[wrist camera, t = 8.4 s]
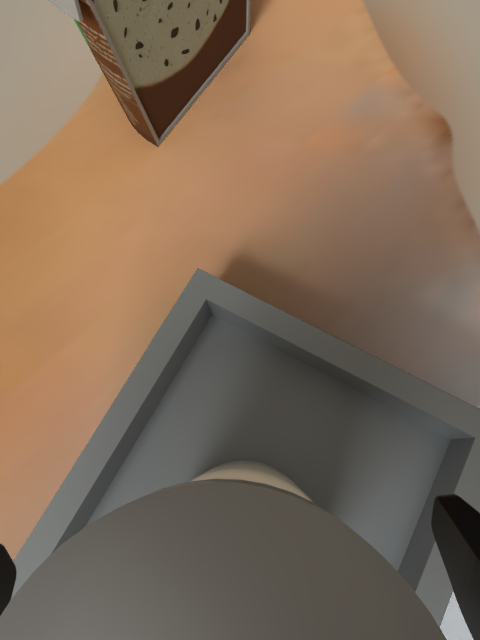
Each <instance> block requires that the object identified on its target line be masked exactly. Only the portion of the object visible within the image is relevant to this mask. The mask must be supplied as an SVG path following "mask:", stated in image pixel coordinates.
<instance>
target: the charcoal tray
mask: <svg viewBox="0 0 480 640" xmlns="http://www.w3.org/2000/svg"><path fill="white" fill-rule="evenodd" d="M238 460H251V461H257V462H261V463H264V464H268V465H270V466H272V467H274V468H276V469H278V470H279V471H281V472H283V473H284V474H285V475H287V476H288V477H289V478H290V479H291V480H292V481H293V482H294V483H295V484H296V485H297V486H298V487H299V488H300V489H301V490H302V491H303V492H304V493H305V494H306V495H307V496H308V497H309V498H310V499H311V500H312V502H314V503H316V504H317V505H319V506H321V507H322V508H324V509H325V510H327V511H328V512H330V513H331V514H333V515H335V516H336V517H338V518H339V519H341V520H342V521H343V522H344V523H345V524H347V525H348V526H349V527H350V528H351V529H353V530H354V531H355V532H356V533H357V534H359V535H360V536H361V537H362V538H363V539H364V540H365V541H367V542H368V543H369V544H370V545H371V546H372V547H373V548H374V549H376V550H377V551H378V552H379V553H380V554H381V555H382V556H383V557H384V558H385V559H386V560H387V561H388V562H389V563H390V564H391V565H392V566H393V567H394V568H395V569H396V571H397V572H398V573H399V574H400V575H401V576H402V577H403V578H404V579H405V580H406V581H407V582H408V583H409V585H410V586H411V587H412V589H413V590H414V591H415V593H416V594H417V595H418V597H419V598H420V599H421V601H422V602H423V603H424V605H425V606H426V607H427V609H428V610H429V611H430V613H431V614H432V616H433V618H434V619H435V621H436V623H437V624H438V626H439V627H440V624H441V622H442V619H443V616H444V614H445V611H446V608H447V605H448V603H449V600H450V597H451V595H452V592H453V588H452V585H451V582H450V580H449V577H448V574H447V571H446V568H445V566H444V563H443V560H442V557H441V555H440V552H439V549H438V546H437V543H436V541H435V538H434V535H433V532H432V527H431V518H432V511H433V504H434V499H435V497H436V496H438V495H446V494H456V495H458V496H460V497H461V498H462V499H464V500H465V501H466V502H467V503H468V504H470V505H471V506H472V507H473V508H475V509H476V510H477V511H478V512H480V409H478V408H476V407H474V406H472V405H470V404H468V403H466V402H464V401H462V400H460V399H458V398H456V397H454V396H452V395H450V394H448V393H446V392H444V391H442V390H440V389H438V388H436V387H434V386H432V385H430V384H428V383H426V382H424V381H422V380H420V379H418V378H416V377H414V376H412V375H410V374H408V373H406V372H404V371H402V370H400V369H398V368H396V367H394V366H392V365H390V364H388V363H386V362H384V361H382V360H380V359H378V358H376V357H374V356H372V355H370V354H368V353H366V352H364V351H362V350H360V349H358V348H356V347H354V346H352V345H350V344H348V343H346V342H344V341H342V340H340V339H338V338H336V337H334V336H332V335H330V334H328V333H326V332H324V331H322V330H320V329H318V328H316V327H314V326H312V325H310V324H308V323H306V322H304V321H302V320H300V319H298V318H296V317H294V316H292V315H290V314H288V313H286V312H284V311H282V310H280V309H278V308H276V307H274V306H272V305H270V304H268V303H266V302H264V301H262V300H260V299H258V298H256V297H254V296H252V295H250V294H248V293H246V292H244V291H242V290H240V289H238V288H236V287H234V286H232V285H231V284H229V283H227V282H225V281H223V280H221V279H219V278H217V277H215V276H213V275H211V274H209V273H207V272H205V271H203V270H201V269H199V268H197V270H196V272H195V273H194V275H193V276H192V278H191V280H190V281H189V283H188V284H187V286H186V288H185V289H184V291H183V292H182V294H181V296H180V297H179V299H178V300H177V302H176V303H175V305H174V307H173V308H172V310H171V311H170V313H169V315H168V316H167V318H166V319H165V321H164V323H163V324H162V326H161V327H160V329H159V331H158V332H157V334H156V335H155V337H154V338H153V340H152V342H151V343H150V345H149V346H148V348H147V350H146V351H145V353H144V354H143V356H142V358H141V359H140V361H139V362H138V364H137V366H136V367H135V369H134V370H133V372H132V374H131V375H130V377H129V378H128V380H127V381H126V383H125V385H124V386H123V388H122V389H121V391H120V393H119V394H118V396H117V397H116V399H115V401H114V402H113V404H112V405H111V407H110V409H109V410H108V412H107V413H106V415H105V416H104V418H103V420H102V421H101V423H100V424H99V426H98V428H97V429H96V431H95V432H94V434H93V436H92V437H91V439H90V440H89V442H88V444H87V445H86V447H85V448H84V450H83V452H82V453H81V455H80V456H79V458H78V459H77V461H76V463H75V464H74V466H73V467H72V469H71V471H70V472H69V474H68V475H67V477H66V479H65V480H64V482H63V483H62V485H61V487H60V488H59V490H58V491H57V493H56V494H55V496H54V498H53V499H52V501H51V502H50V504H49V506H48V507H47V509H46V510H45V512H44V514H43V515H42V517H41V518H40V520H39V522H38V523H37V525H36V526H35V528H34V530H33V531H32V533H31V534H30V536H29V537H28V539H27V541H26V542H25V544H24V545H23V547H22V549H21V550H20V552H19V553H18V555H17V557H16V558H15V560H14V561H13V562H14V564H15V566H16V571H17V575H16V581H15V585H14V589H13V593H12V597H13V596H14V595H15V594H16V593H17V591H18V590H19V589H20V588H21V587H22V585H23V584H24V583H25V582H26V580H27V579H28V578H29V577H30V576H31V574H32V573H33V572H34V571H35V570H36V569H37V568H38V567H39V566H40V565H41V564H42V563H43V562H44V561H45V560H46V559H47V558H48V557H49V556H50V555H51V554H52V553H53V552H54V551H55V550H56V549H57V548H58V547H60V546H61V545H62V544H63V543H64V542H66V541H67V540H68V539H70V538H71V537H72V536H74V535H75V534H76V533H78V532H79V531H80V530H82V529H83V528H84V527H86V526H87V525H88V524H90V523H92V522H94V521H95V520H97V519H99V518H101V517H102V516H104V515H106V514H108V513H109V512H111V511H113V510H115V509H116V508H119V507H121V506H123V505H125V504H127V503H129V502H131V501H134V500H136V499H138V498H140V497H143V496H145V495H148V494H150V493H152V492H155V491H157V490H160V489H162V488H166V487H170V486H174V485H177V484H181V483H185V482H189V481H191V480H193V479H194V478H196V477H198V476H200V475H201V474H203V473H205V472H207V471H208V470H210V469H212V468H214V467H216V466H218V465H221V464H223V463H227V462H231V461H238ZM12 597H11V599H12Z"/></svg>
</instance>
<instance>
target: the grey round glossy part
mask: <svg viewBox="0 0 480 640" xmlns="http://www.w3.org/2000/svg"><path fill="white" fill-rule="evenodd" d="M0 640H446V638H445V636H444V635H443V633H442V631H441V630H440V628H439V626H438V624H437V623H436V621H435V619H434V618H433V616H432V614H431V613H430V611H429V610H428V609H427V607H426V606H425V605H424V603H423V602H422V601H421V599H420V598H419V597H418V595H417V594H416V593H415V591H414V590H413V589H412V587H411V586H410V585H409V583H408V582H407V581H406V580H405V579H404V578H403V577H402V576H401V575H400V574H399V573H398V572H397V571H396V569H395V568H394V567H393V566H392V565H391V564H390V563H389V562H388V561H387V560H386V559H385V558H384V557H383V556H382V555H381V554H380V553H379V552H378V551H377V550H376V549H374V548H373V547H372V546H371V545H370V544H369V543H368V542H367V541H365V540H364V539H363V538H362V537H361V536H360V535H359V534H357V533H356V532H355V531H354V530H353V529H351V528H350V527H349V526H348V525H347V524H345V523H344V522H343V521H342V520H341V519H339V518H338V517H336V516H335V515H333V514H331V513H330V512H328V511H327V510H325V509H324V508H322V507H321V506H319V505H317V504H316V503H314V502H312V500H311V499H310V498H309V497H308V496H307V495H306V494H305V493H304V492H303V491H302V490H301V489H300V488H299V487H298V486H297V485H296V484H295V483H294V482H293V481H292V480H291V479H290V478H289V477H288V476H287V475H285V474H284V473H283V472H281V471H279V470H278V469H276V468H274V467H272V466H270V465H268V464H264V463H261V462H257V461H251V460H238V461H231V462H227V463H223V464H221V465H218V466H216V467H214V468H212V469H210V470H208V471H207V472H205V473H203V474H201V475H200V476H198V477H196V478H194V479H193V480H191V481H189V482H185V483H181V484H177V485H174V486H170V487H166V488H162V489H160V490H157V491H155V492H152V493H150V494H148V495H145V496H143V497H140V498H138V499H136V500H134V501H131V502H129V503H127V504H125V505H123V506H121V507H119V508H116V509H115V510H113V511H111V512H109V513H108V514H106V515H104V516H102V517H101V518H99V519H97V520H95V521H94V522H92V523H90V524H88V525H87V526H86V527H84V528H83V529H82V530H80V531H79V532H78V533H76V534H75V535H74V536H72V537H71V538H70V539H68V540H67V541H66V542H64V543H63V544H62V545H61V546H60V547H58V548H57V549H56V550H55V551H54V552H53V553H52V554H51V555H50V556H49V557H48V558H47V559H46V560H45V561H44V562H43V563H42V564H41V565H40V566H39V567H38V568H37V569H36V570H35V571H34V572H33V573H32V574H31V576H30V577H29V578H28V579H27V580H26V582H25V583H24V584H23V585H22V587H21V588H20V589H19V590H18V591H17V593H16V594H15V595H14V596H13V597H12V599H11V600H10V602H9V604H8V605H7V607H6V608H5V610H4V611H3V613H2V614H1V616H0Z"/></svg>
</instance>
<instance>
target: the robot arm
mask: <svg viewBox="0 0 480 640" xmlns="http://www.w3.org/2000/svg"><path fill="white" fill-rule="evenodd" d="M431 527H432V532H433V535H434V538H435V541H436V543H437V546H438V549H439V552H440V555H441V557H442V560H443V563H444V566H445V568H446V571H447V574H448V577H449V580H450V582H451V585H452V588H453V591H454V593H455V596H456V599H457V602H458V604H459V607H460V610H461V612H462V615H463V617H464V619H465V622H466V624H467V626H468V628H469V630H470V633H471V635H472V637H473V639H474V640H480V512H478V511H477V510H476V509H475V508H473V507H472V506H471V505H470V504H468V503H467V502H466V501H465V500H464V499H462V498H461V497H460V496H458V495H456V494H446V495H438V496H436V497H435V499H434V504H433V511H432V518H431ZM16 575H17V571H16V566H15V564H14V562H13V561H12V559H11V557H10V555H9V554H8V552H7V550H6V549H5V547H4V546H3V545H2V544H0V616H1V614H2V613H3V611H4V610H5V608H6V607H7V605H8V604H9V602H10V600H11V597H12V593H13V589H14V585H15V581H16Z"/></svg>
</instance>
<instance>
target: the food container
mask: <svg viewBox="0 0 480 640" xmlns="http://www.w3.org/2000/svg"><path fill="white" fill-rule="evenodd" d="M49 1H50V2H51V3H53V4H54V5H55V6H56V7H57V8H59V9H60V10H61V11H62V12H64V13H65V14H67V15H69V16H71V17H72V18H74V20H75V22H76V24H77V26H78V28H79V29H80V31H81V33H82V35H83V37H84V38H85V40H86V42H87V44H88V46H89V48H90V50H91V51H92V53H93V55H94V57H95V59H96V61H97V62H98V64H99V66H100V68H101V70H102V72H103V73H104V75H105V77H106V79H107V81H108V83H109V84H110V86H111V88H112V90H113V92H114V94H115V95H116V97H117V99H118V101H119V103H120V105H121V106H122V108H123V110H124V112H125V114H126V116H127V117H128V119H129V121H130V123H131V124H132V126H133V127H134V128H135V129H136V131H137V132H138V133H139V134H141V135H142V136H143V137H144V138H145V139H146V140H148V141H149V142H151V143H153V144H154V145H156V146H157V147H159V145H160V144H161V143H162V142H163V141H164V139H165V138H166V137H167V136H168V134H169V133H170V132H171V131H172V129H173V128H174V127H175V126H176V125H177V123H178V122H179V121H180V120H181V118H182V117H183V116H184V115H185V113H186V112H187V111H188V110H189V108H190V107H191V106H192V105H193V104H194V102H195V101H196V100H197V99H198V97H199V96H200V95H201V94H202V92H203V91H204V90H205V89H206V88H207V86H208V85H209V84H210V83H211V81H212V80H213V79H214V78H215V76H216V75H217V74H218V73H219V71H220V70H221V69H222V68H223V67H224V65H225V64H226V63H227V62H228V60H229V59H230V58H231V57H232V55H233V54H234V53H235V52H236V51H237V49H238V48H239V47H240V46H241V44H242V43H243V42H244V41H245V39H246V38H247V37H248V36H249V34H250V7H251V0H49Z"/></svg>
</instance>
